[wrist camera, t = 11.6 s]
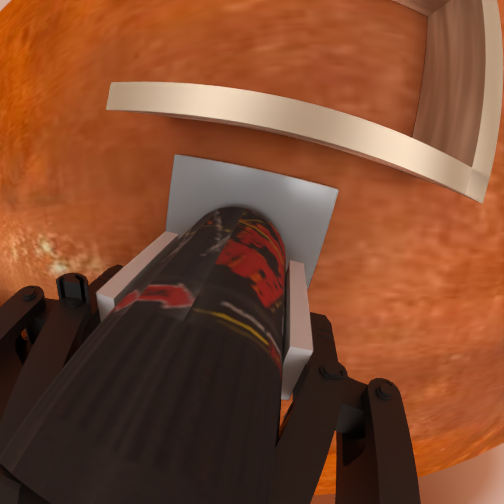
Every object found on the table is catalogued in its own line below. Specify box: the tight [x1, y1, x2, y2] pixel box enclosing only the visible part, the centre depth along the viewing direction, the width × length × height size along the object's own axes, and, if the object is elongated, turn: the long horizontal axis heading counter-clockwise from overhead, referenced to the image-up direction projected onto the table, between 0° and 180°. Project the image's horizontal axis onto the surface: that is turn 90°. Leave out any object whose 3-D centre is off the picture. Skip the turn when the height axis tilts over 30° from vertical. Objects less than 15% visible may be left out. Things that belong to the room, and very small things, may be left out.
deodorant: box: [0, 206, 286, 504], centre depth 10 cm, size 6×6×15 cm
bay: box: [106, 0, 503, 204], centre depth 9 cm, size 16×13×7 cm
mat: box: [166, 154, 339, 291], centre depth 18 cm, size 10×10×1 cm
